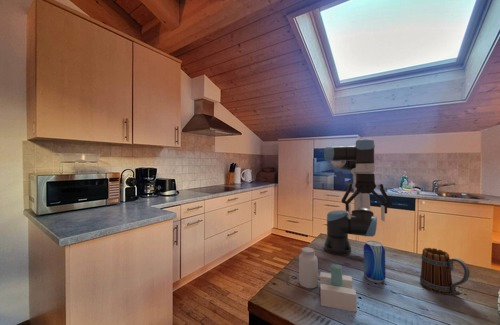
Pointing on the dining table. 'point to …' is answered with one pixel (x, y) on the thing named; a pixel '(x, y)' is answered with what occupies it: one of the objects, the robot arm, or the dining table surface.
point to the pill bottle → (308, 268)
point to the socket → (338, 293)
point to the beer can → (374, 261)
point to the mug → (440, 271)
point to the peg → (336, 275)
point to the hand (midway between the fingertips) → (365, 219)
